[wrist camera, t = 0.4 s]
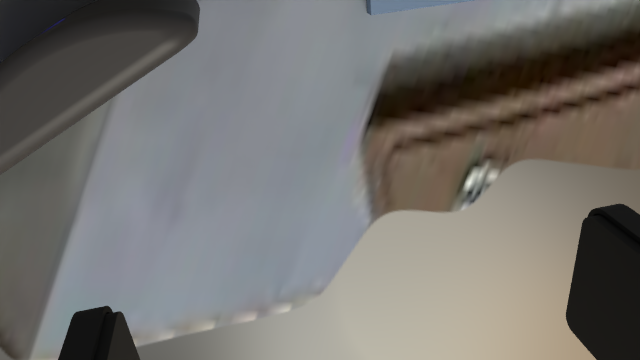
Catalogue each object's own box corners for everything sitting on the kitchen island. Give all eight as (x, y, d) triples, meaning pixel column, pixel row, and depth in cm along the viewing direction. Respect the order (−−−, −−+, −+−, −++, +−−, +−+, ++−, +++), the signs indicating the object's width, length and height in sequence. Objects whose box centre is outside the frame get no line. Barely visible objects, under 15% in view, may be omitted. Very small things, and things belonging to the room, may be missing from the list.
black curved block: (161, -53, 33) (145, -43, 24) (205, 10, 35) (205, 39, 27) (-36, 88, 34) (-114, 143, 26) (18, 140, 36) (-37, 205, 28)
